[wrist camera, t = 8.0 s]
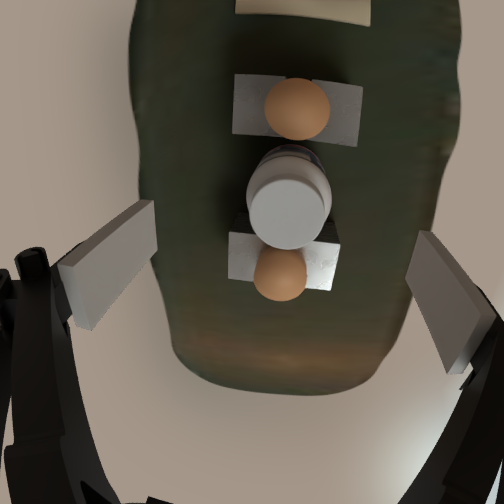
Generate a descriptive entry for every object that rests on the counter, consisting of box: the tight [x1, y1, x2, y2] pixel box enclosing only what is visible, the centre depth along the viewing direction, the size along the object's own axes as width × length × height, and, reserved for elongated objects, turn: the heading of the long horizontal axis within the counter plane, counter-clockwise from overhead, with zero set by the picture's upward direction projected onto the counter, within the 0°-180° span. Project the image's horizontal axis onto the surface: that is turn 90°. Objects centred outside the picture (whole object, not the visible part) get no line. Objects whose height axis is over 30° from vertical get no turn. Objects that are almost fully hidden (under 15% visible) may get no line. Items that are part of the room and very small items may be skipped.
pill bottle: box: [246, 144, 332, 250], centre depth 20 cm, size 5×5×9 cm
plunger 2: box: [253, 246, 307, 301], centre depth 23 cm, size 4×4×5 cm
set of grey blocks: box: [228, 74, 363, 290], centre depth 22 cm, size 15×8×4 cm, turn 177°
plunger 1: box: [264, 78, 330, 140], centre depth 17 cm, size 4×4×5 cm
